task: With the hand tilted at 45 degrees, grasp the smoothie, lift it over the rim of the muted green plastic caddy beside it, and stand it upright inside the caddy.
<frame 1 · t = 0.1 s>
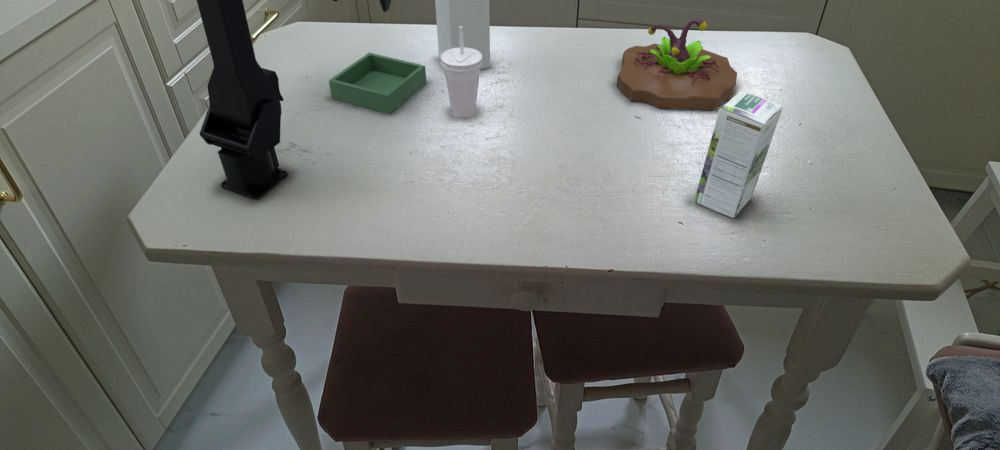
hand: (361, 5, 98), 15 cm above the table, tool pointing down, fingers open, 9 cm apart
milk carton: (464, 64, 116), on the table
smoothie: (463, 113, 103), on the table
syrup box: (722, 202, 86), on the table
caddy: (380, 90, 108), on the table
plant: (675, 82, 111), on the table
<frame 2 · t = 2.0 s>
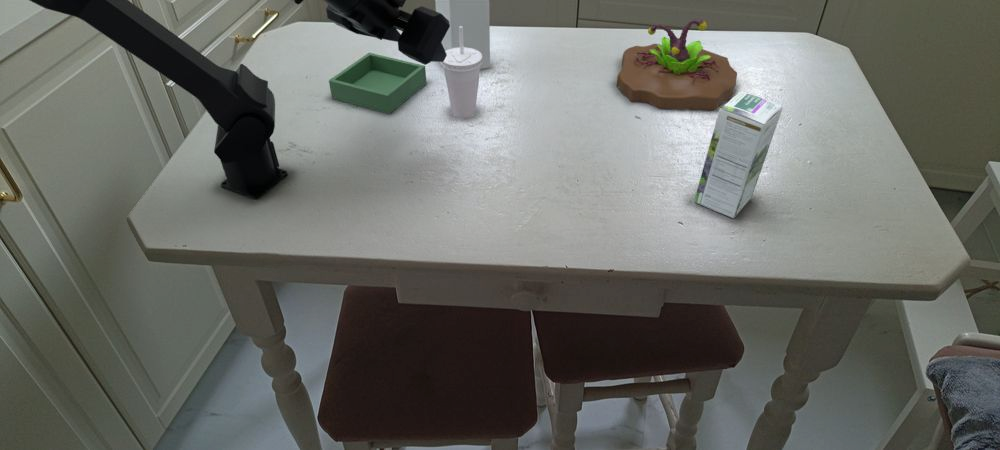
hand: (421, 48, 90), 13 cm above the table, tool tilted 45°, fingers open, 9 cm apart
nothing on the table moved.
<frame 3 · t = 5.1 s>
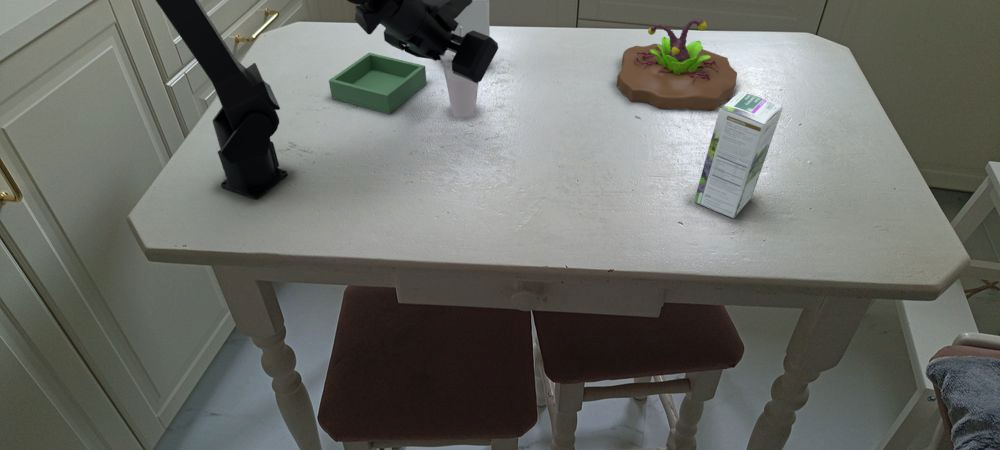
hand: (468, 65, 99), 8 cm above the table, tool tilted 45°, fingers closed on smoothie, 6 cm apart
smoothie: (463, 113, 103), on the table, touching gripper
everything else where it was.
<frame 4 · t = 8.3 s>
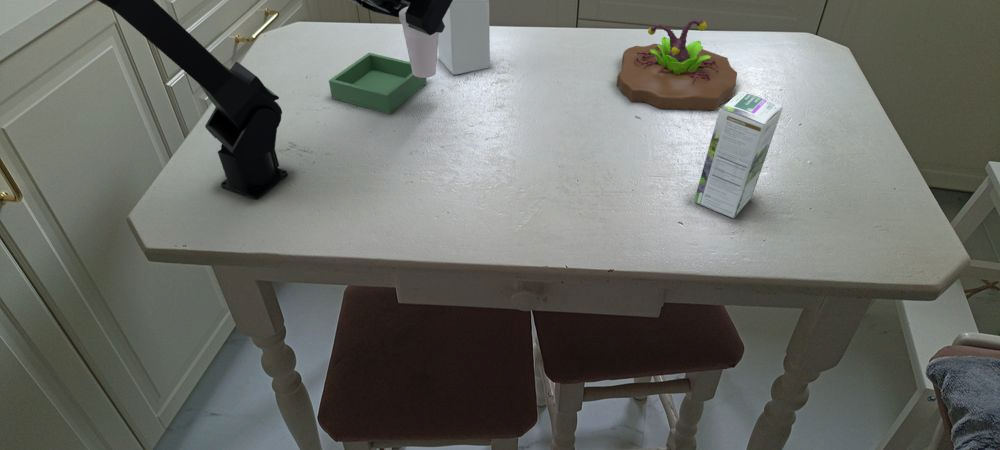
hand: (427, 23, 97), 13 cm above the table, tool tilted 45°, fingers closed on smoothie, 6 cm apart
smoothie: (424, 73, 101), point 5 cm above the table, touching gripper
everything else where it was.
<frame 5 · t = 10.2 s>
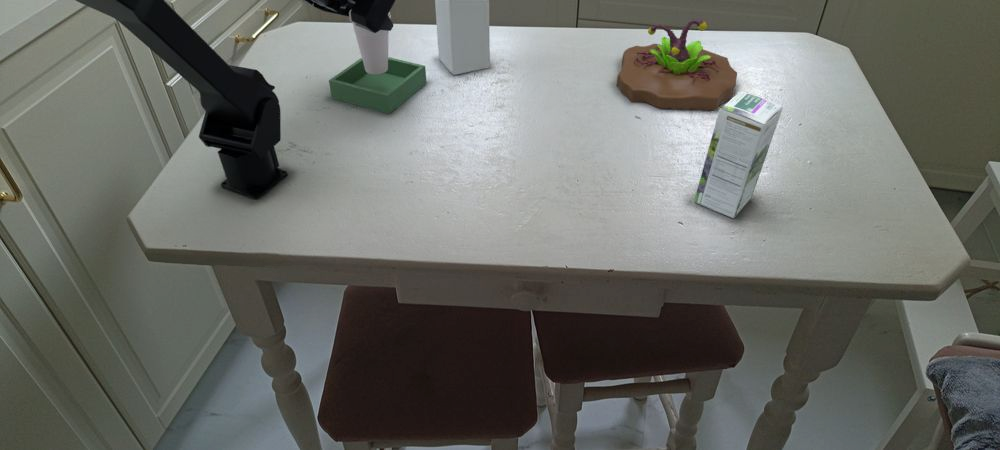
hand: (377, 22, 101), 12 cm above the table, tool tilted 45°, fingers closed on smoothie, 6 cm apart
smoothie: (376, 70, 105), point 4 cm above the table, touching gripper
everything else where it was.
when the fingers open (8 cm above the table, at t = 11.8 s): smoothie stays where it is, resting on caddy.
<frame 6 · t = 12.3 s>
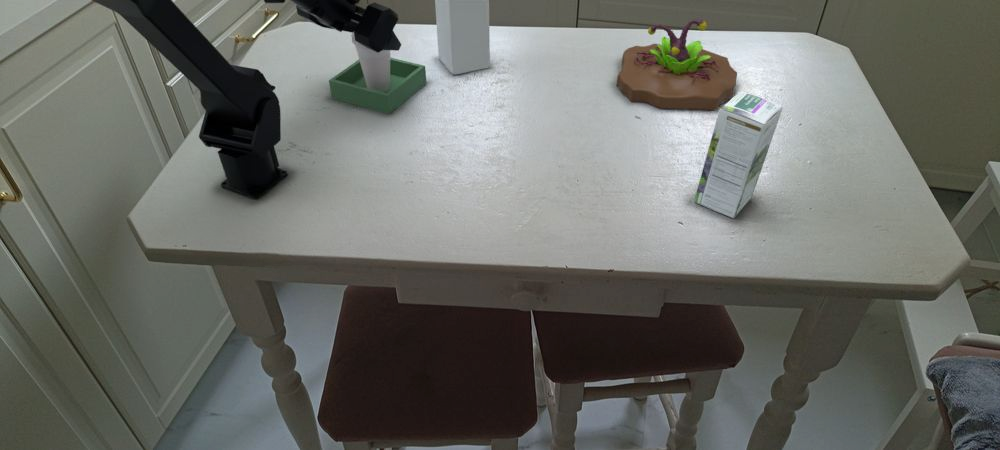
hand: (380, 38, 103), 9 cm above the table, tool tilted 45°, fingers open, 9 cm apart
smoothie: (379, 89, 108), resting on caddy
everything else where it was.
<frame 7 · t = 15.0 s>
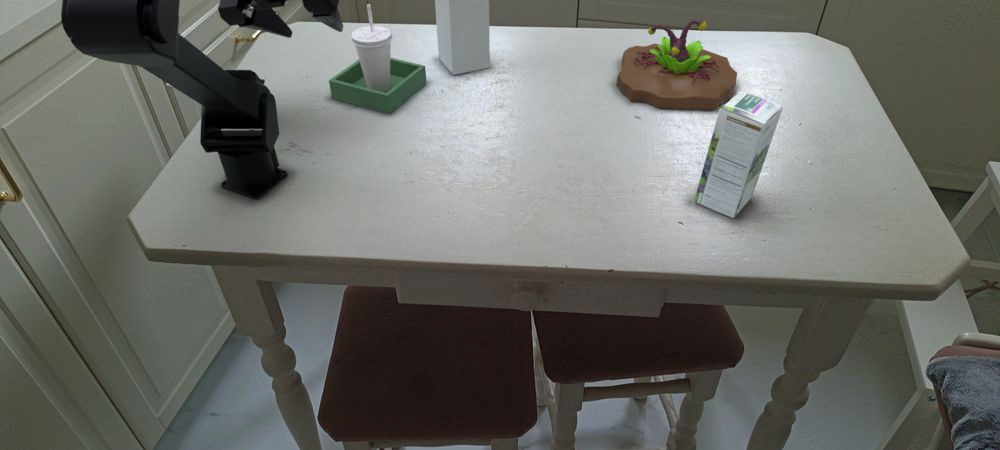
hand: (316, 32, 96), 13 cm above the table, tool tilted 35°, fingers open, 9 cm apart
nothing on the table moved.
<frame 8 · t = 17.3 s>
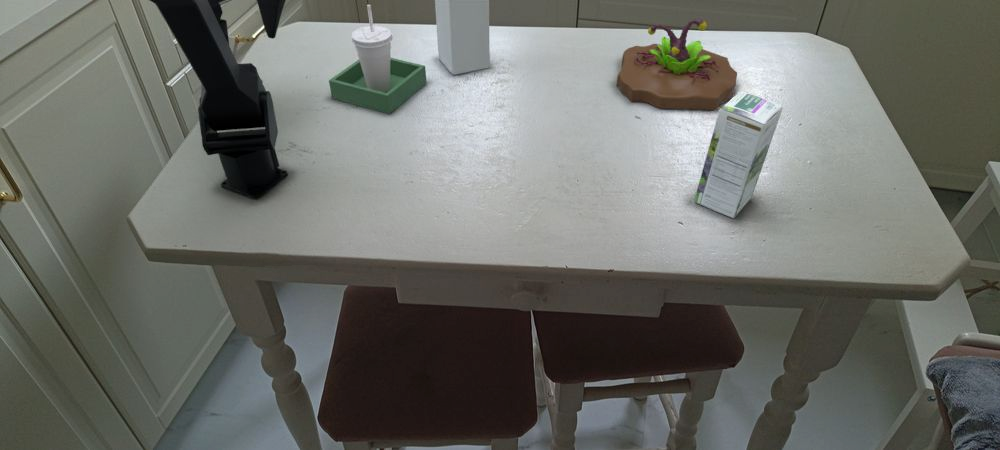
hand: (249, 50, 93), 12 cm above the table, tool pointing down, fingers open, 9 cm apart
nothing on the table moved.
at the end: smoothie inside the target area in the caddy (0.2 cm from its centre), point 0.3 cm above the caddy's base; smoothie tilted 0°; the gripper is holding nothing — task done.
